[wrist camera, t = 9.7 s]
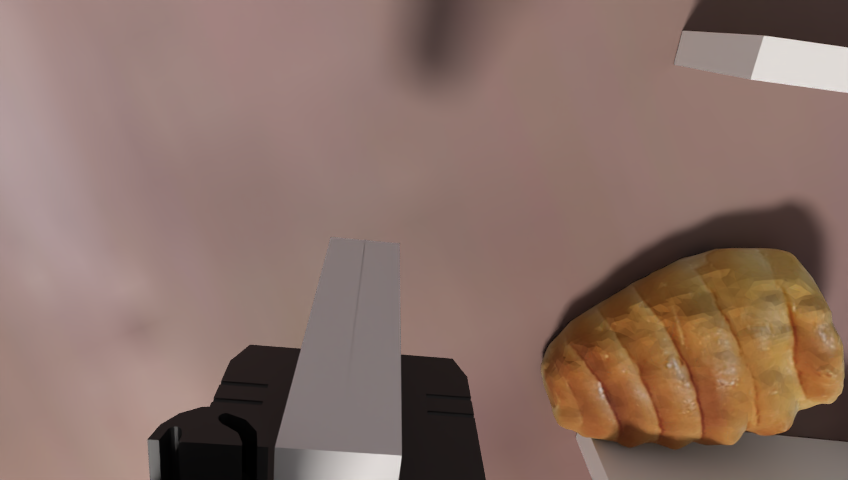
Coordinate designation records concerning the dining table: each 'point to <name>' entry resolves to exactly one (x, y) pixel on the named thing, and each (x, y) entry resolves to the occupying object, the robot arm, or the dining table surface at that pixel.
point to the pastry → (698, 353)
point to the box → (752, 454)
